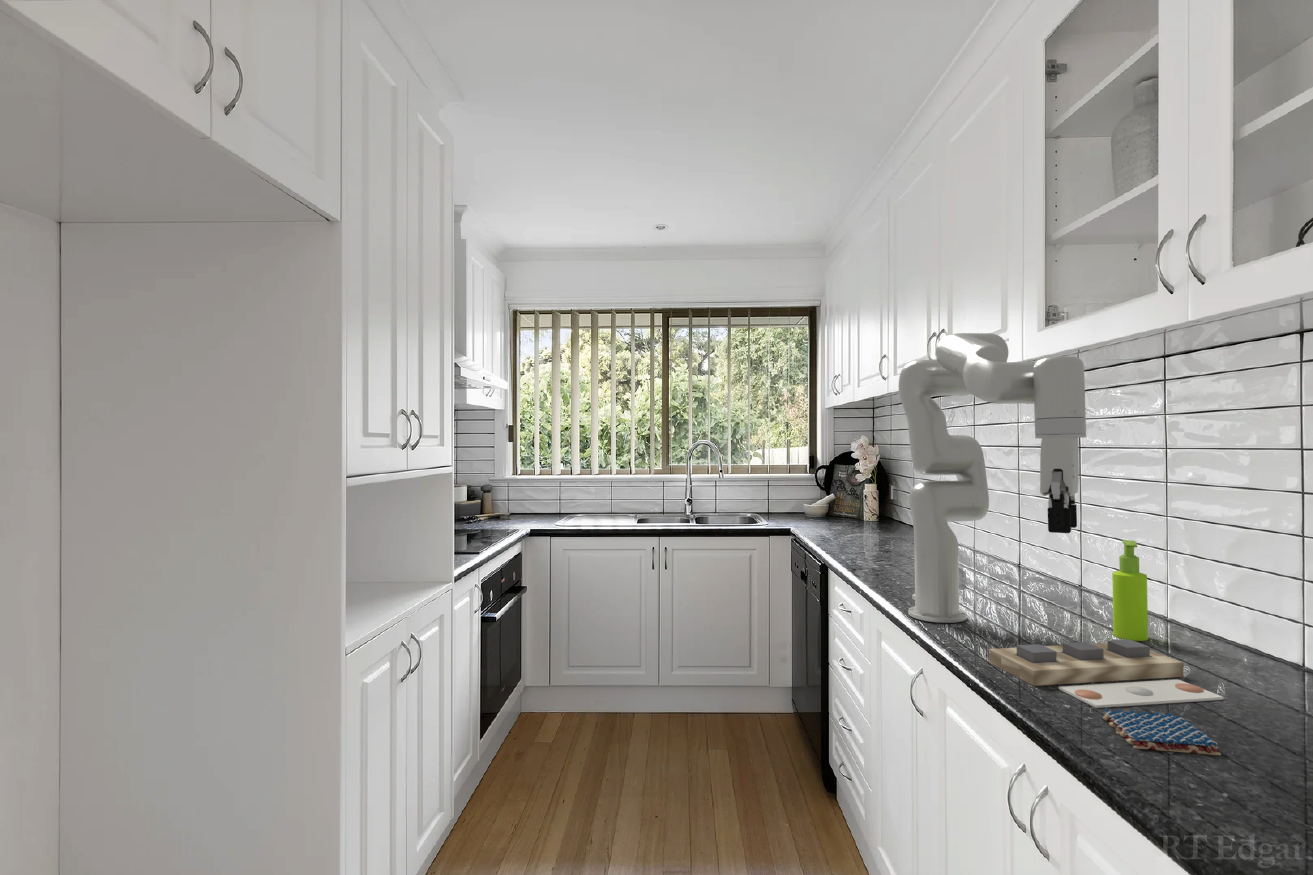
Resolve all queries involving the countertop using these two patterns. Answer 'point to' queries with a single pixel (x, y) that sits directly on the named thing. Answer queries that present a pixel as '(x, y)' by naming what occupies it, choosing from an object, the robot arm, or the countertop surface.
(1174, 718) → the woven mat
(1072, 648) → the button
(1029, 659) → the button
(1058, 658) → the button board
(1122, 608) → the soap dispenser
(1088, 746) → the countertop surface
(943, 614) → the robot arm
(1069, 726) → the countertop surface
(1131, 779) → the countertop surface
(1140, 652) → the button
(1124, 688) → the card
